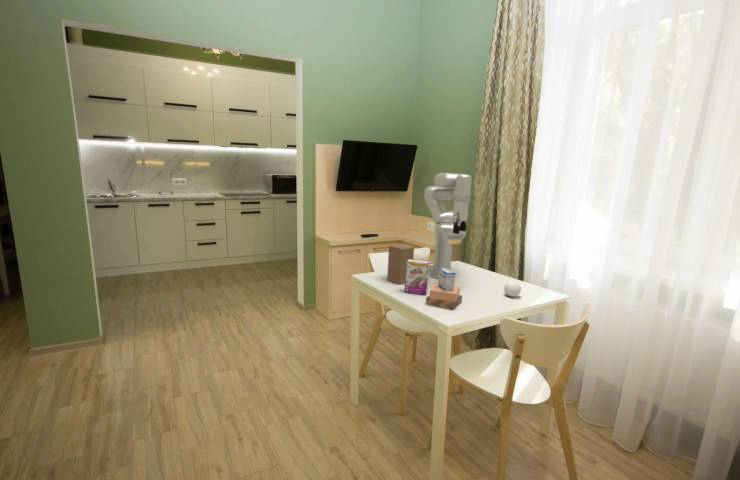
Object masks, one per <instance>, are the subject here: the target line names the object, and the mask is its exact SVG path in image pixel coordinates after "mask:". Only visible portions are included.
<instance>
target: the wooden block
mask: <svg viewBox="0 0 740 480" xmlns="http://www.w3.org/2000/svg"><path fill="white" fill-rule="evenodd" d="M414 253H415V246H412V245H410V244H409V245H408V244H404V243H398V244H397V243H396V244H391V245H389V246H388V259H387V261H388V262H387V276H386V277H387V279H386V280H387V281H389V282H391V283H394V284H397V285H405V278H406V263H407V261H408V260H409V259H410V260H414Z"/></svg>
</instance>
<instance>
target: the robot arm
mask: <svg viewBox="0 0 740 480" xmlns="http://www.w3.org/2000/svg"><path fill="white" fill-rule="evenodd" d="M433 183H434V184H435V185H430V186H427V187H426V188H425V190H424V201H425V203H426V205H427V208H428V209H429V211H430V213H431V217H432V219H433V222H434V224H435V225H436V226H435V228H434V236H435V245H434V246H435V247H434V248H435V249H434V261H433V266H432V267H431V266H430V268H429V272H431V273H430V276H431V277H432V278H435V279H438V280H439V273H440V269H441V268H447V269H449V270H451V267H452V255H453V254H452V253H453V252H452V251H453V246H452V245H451V242H449V241H452V240H453V241H459V240H461V241H462V240H464V238H466V235H467V230H466V229H467V223H468V221H467V220H468V215H469V204H470V199H471V191H472V189H471V188H472V176H471V175H470V174H466V173H451V172H439V173H438V174H436V175H435V176H434V178H433ZM453 198H454V200H453V201H454V205H453V210H446V208H445V205H444V204H443V203H442V202H441V201H450V200H452V199H453Z"/></svg>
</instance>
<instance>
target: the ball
mask: <svg viewBox="0 0 740 480" xmlns="http://www.w3.org/2000/svg"><path fill="white" fill-rule="evenodd" d="M503 287H504V288H503V291H504V294H506V295H507V296H508V297H511V298H512V297H513V298H515V297H517V296H519V295H520V293H521V291H522V287H521V285H520V284H519V282H517V281H515V280H510V281H509V280H508V281H507V282H506V283H505V284H504V286H503Z"/></svg>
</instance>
